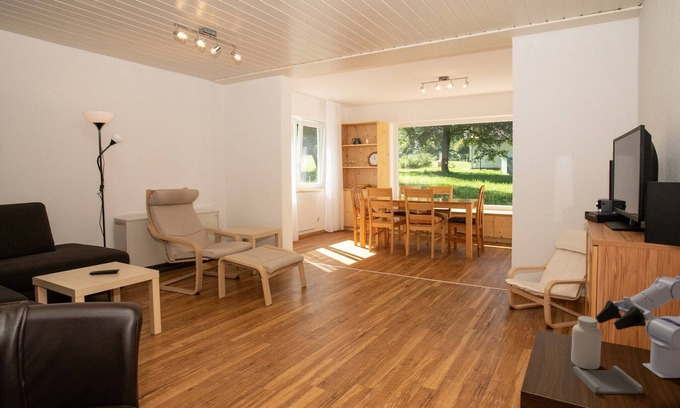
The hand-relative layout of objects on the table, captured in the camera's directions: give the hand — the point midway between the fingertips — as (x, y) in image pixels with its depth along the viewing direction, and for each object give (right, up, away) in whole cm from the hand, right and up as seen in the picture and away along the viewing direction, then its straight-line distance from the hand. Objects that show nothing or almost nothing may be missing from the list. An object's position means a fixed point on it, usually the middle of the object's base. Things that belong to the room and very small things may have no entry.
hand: (606, 323), depth 121 cm
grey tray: (-1, -17, -1) cm, 17 cm away
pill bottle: (0, -16, +10) cm, 19 cm away
